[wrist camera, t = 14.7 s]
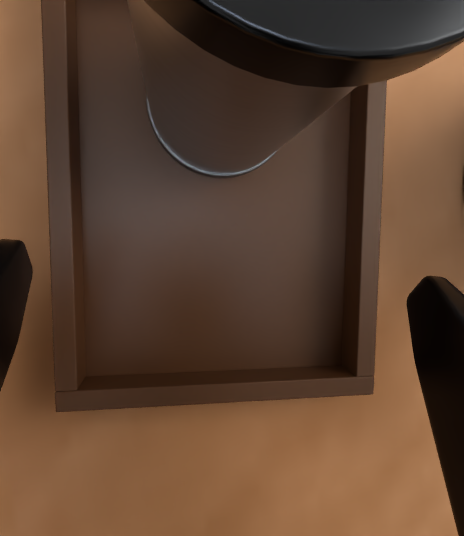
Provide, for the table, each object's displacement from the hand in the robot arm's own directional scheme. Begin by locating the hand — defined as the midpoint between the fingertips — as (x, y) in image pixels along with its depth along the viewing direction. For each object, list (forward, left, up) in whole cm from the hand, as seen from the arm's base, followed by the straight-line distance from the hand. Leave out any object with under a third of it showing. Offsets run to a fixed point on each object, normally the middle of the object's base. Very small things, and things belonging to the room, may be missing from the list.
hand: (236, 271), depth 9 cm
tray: (+3, 0, -8) cm, 8 cm away
